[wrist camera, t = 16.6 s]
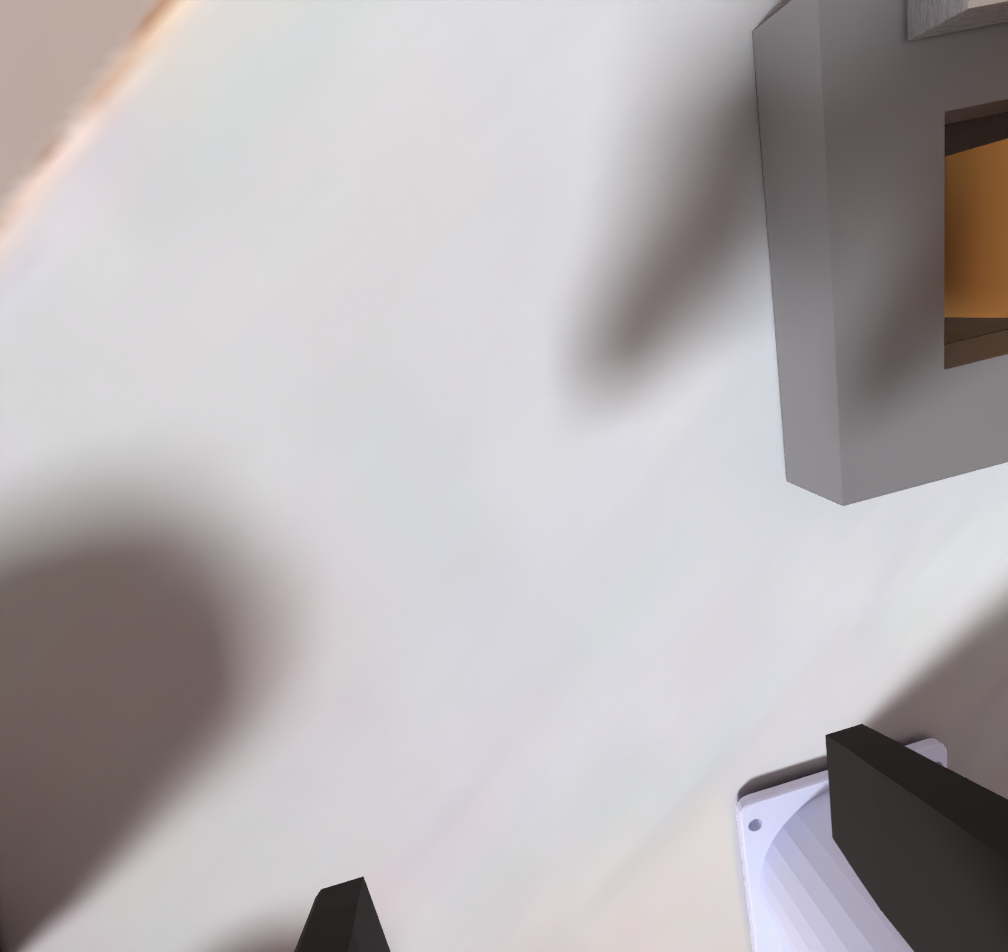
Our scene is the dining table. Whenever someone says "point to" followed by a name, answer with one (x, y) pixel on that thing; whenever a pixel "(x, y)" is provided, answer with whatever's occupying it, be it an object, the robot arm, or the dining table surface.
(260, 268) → the dining table surface
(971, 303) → the plug
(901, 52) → the socket plate
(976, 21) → the panel
